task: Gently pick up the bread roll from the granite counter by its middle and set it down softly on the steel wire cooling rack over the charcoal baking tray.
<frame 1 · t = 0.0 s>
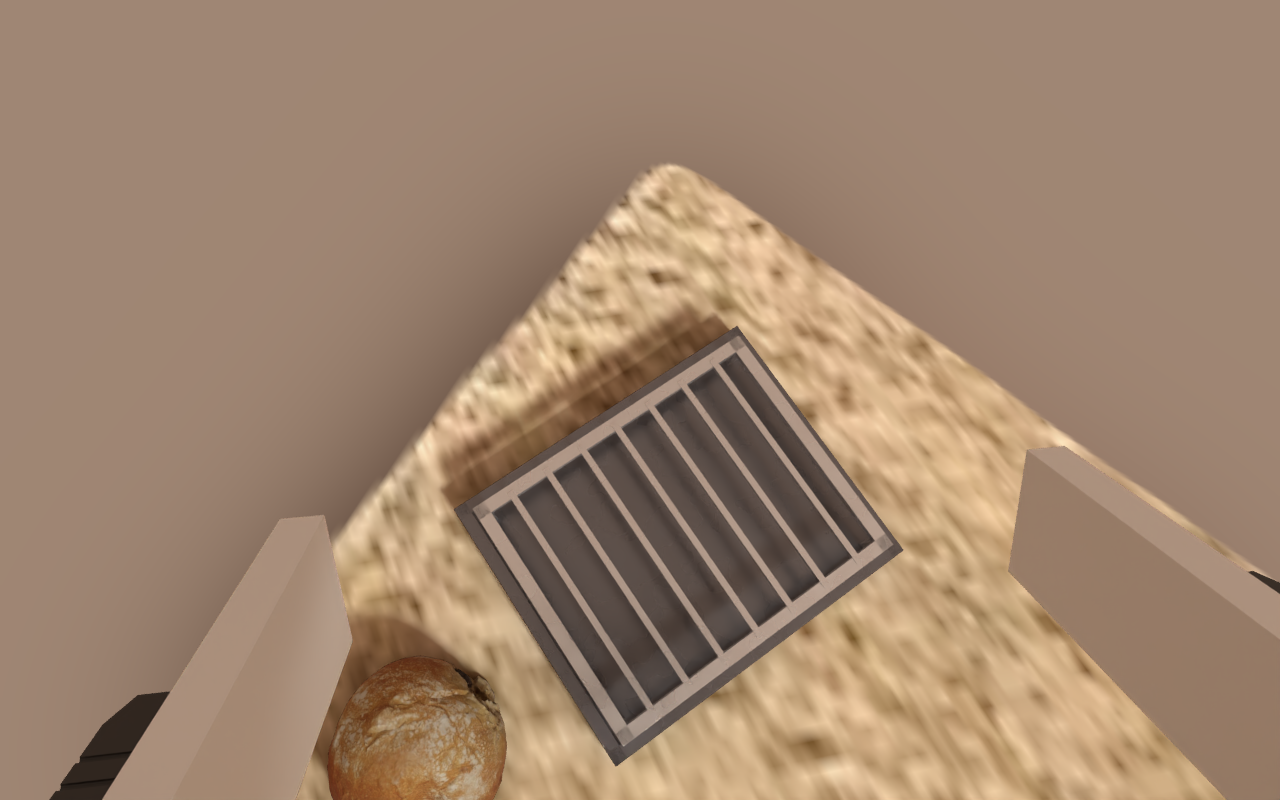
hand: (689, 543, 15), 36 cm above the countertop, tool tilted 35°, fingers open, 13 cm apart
bread roll: (425, 749, 47), on the countertop
cooling rack: (678, 532, 50), on the countertop
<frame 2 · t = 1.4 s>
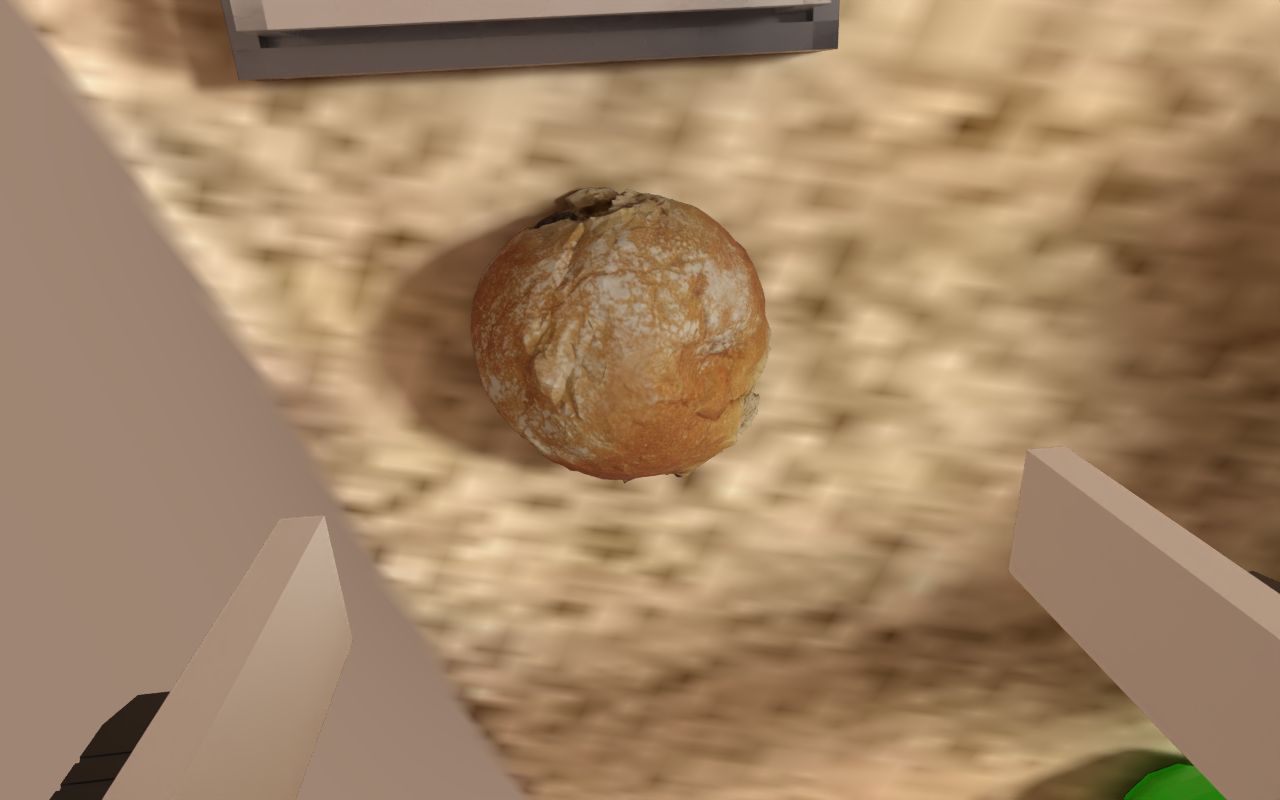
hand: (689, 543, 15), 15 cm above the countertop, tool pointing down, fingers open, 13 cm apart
bread roll: (625, 327, 29), on the countertop
plastic bottle: (1164, 798, 41), on the countertop
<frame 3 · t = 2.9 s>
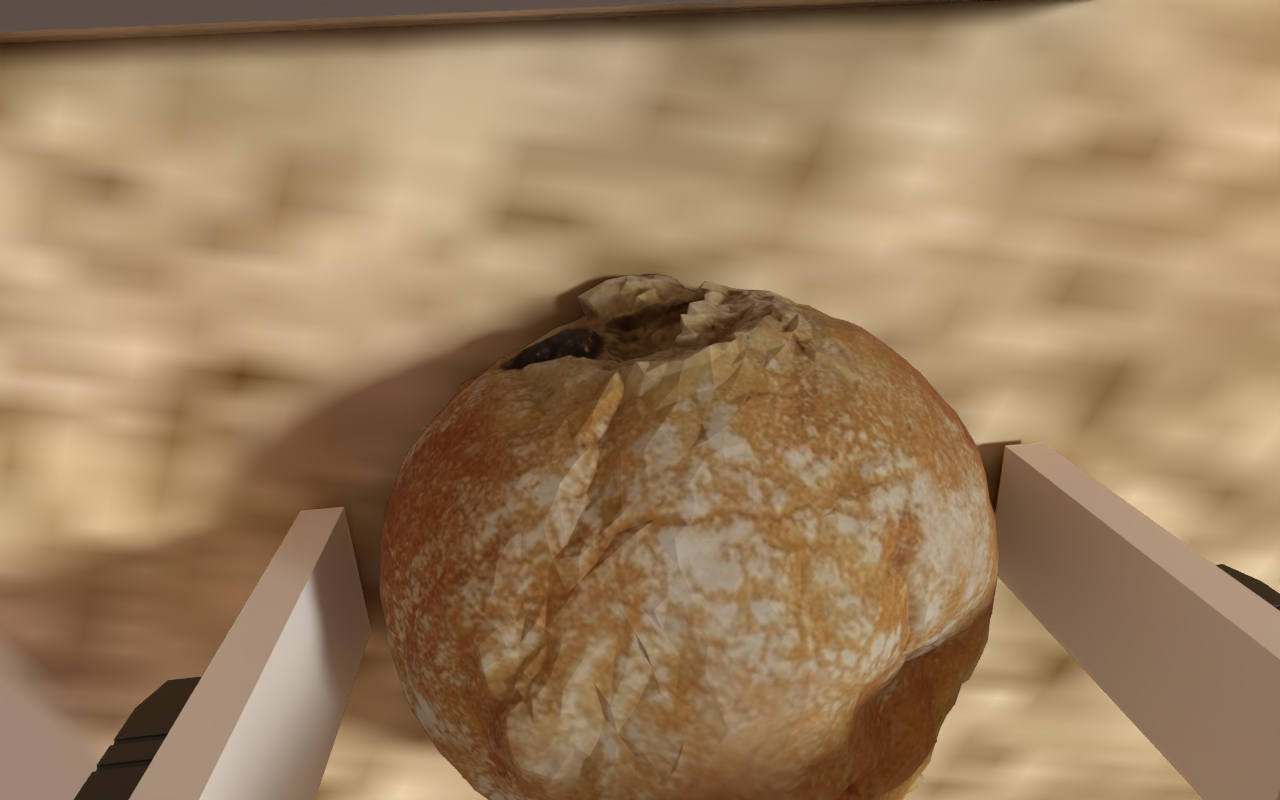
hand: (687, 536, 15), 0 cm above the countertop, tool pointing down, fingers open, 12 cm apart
bread roll: (687, 523, 15), on the countertop
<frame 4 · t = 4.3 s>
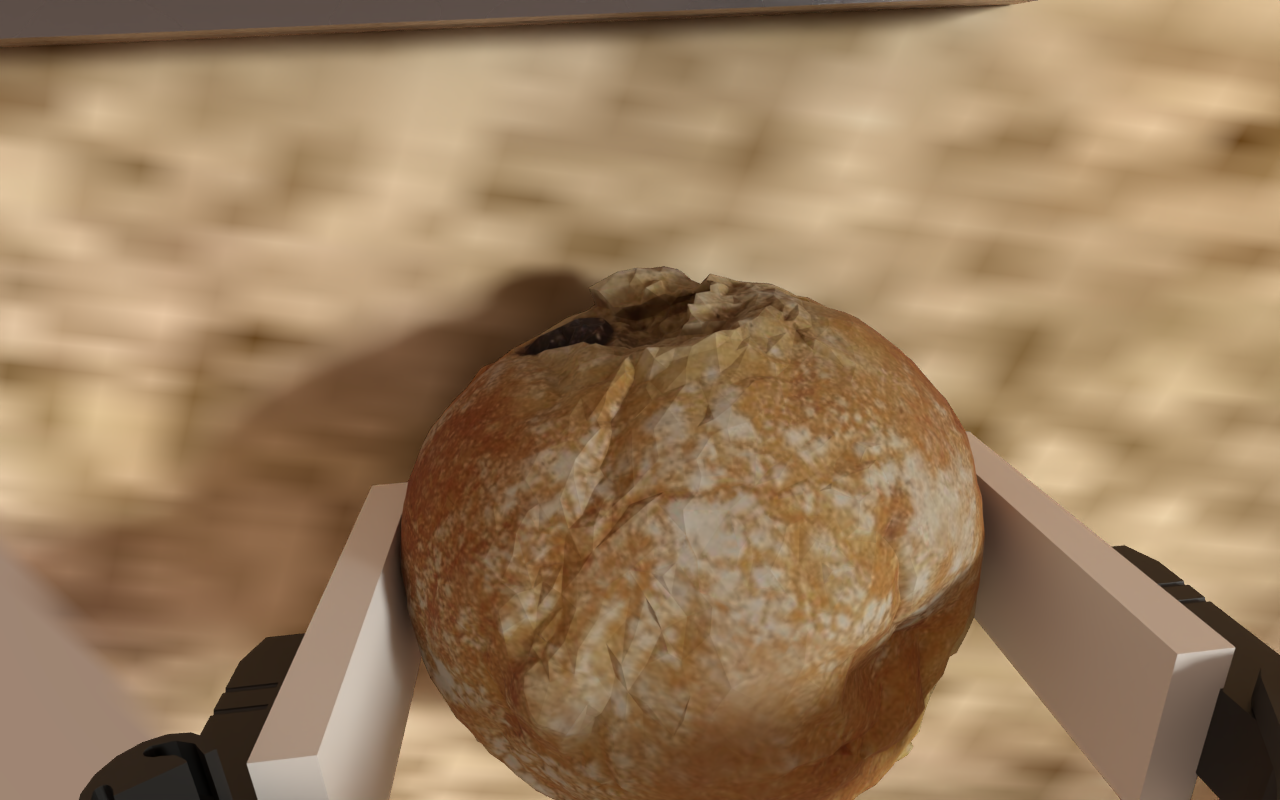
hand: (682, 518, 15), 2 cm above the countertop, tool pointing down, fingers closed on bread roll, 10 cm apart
bread roll: (690, 506, 16), point 1 cm above the countertop, touching gripper
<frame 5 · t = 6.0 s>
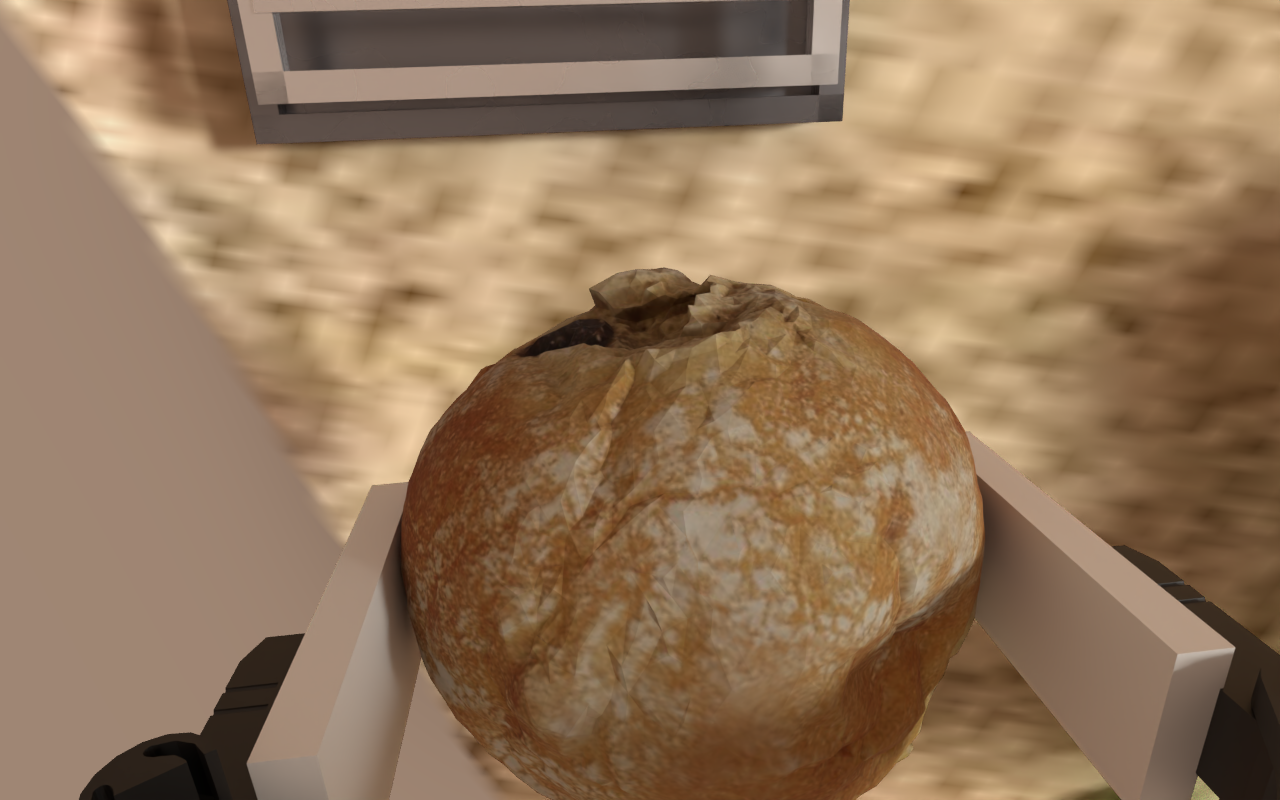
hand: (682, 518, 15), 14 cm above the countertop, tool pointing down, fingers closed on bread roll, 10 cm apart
bread roll: (690, 507, 16), point 13 cm above the countertop, touching gripper
when the fingers open (5 cm above the countertop, at t = 9.4 s): bread roll stays where it is, resting on cooling rack.
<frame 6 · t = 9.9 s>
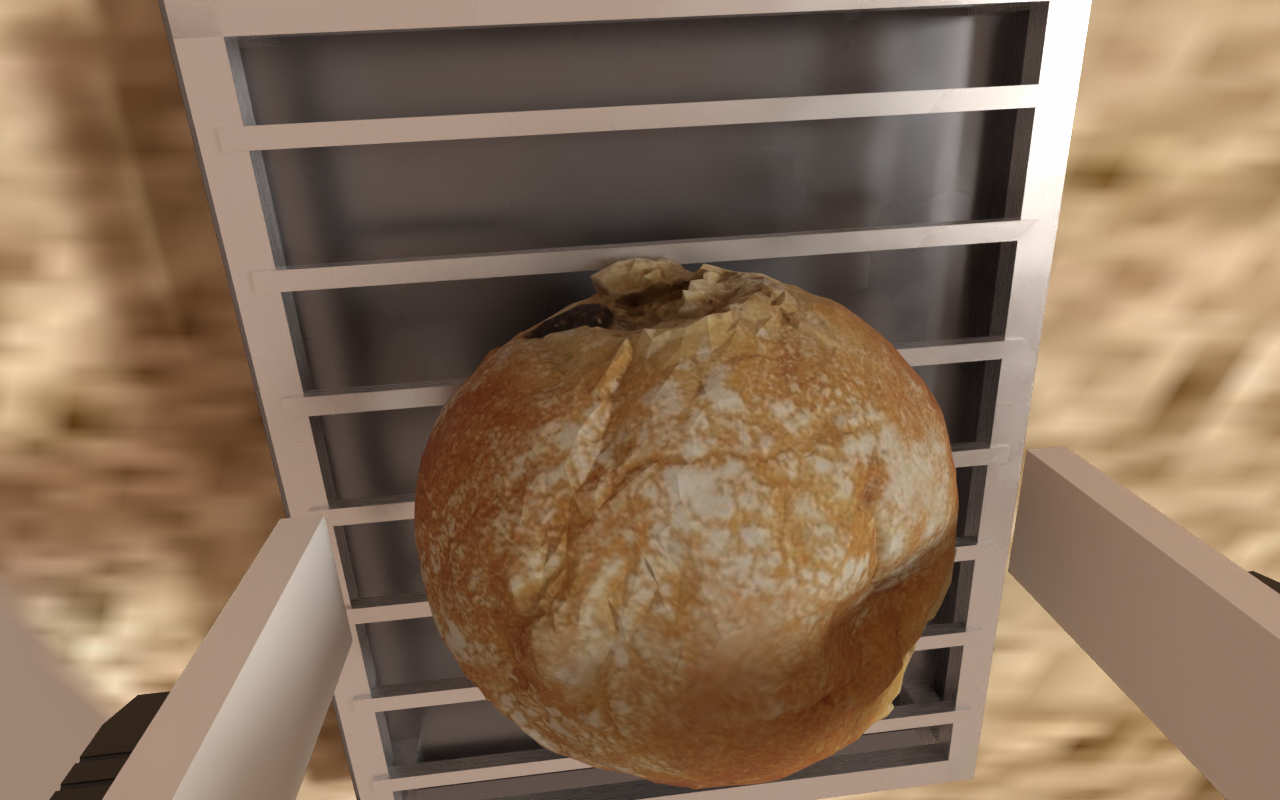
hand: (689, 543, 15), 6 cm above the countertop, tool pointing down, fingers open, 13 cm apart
bread roll: (685, 484, 17), point 4 cm above the countertop, touching cooling rack
cooling rack: (650, 416, 20), on the countertop
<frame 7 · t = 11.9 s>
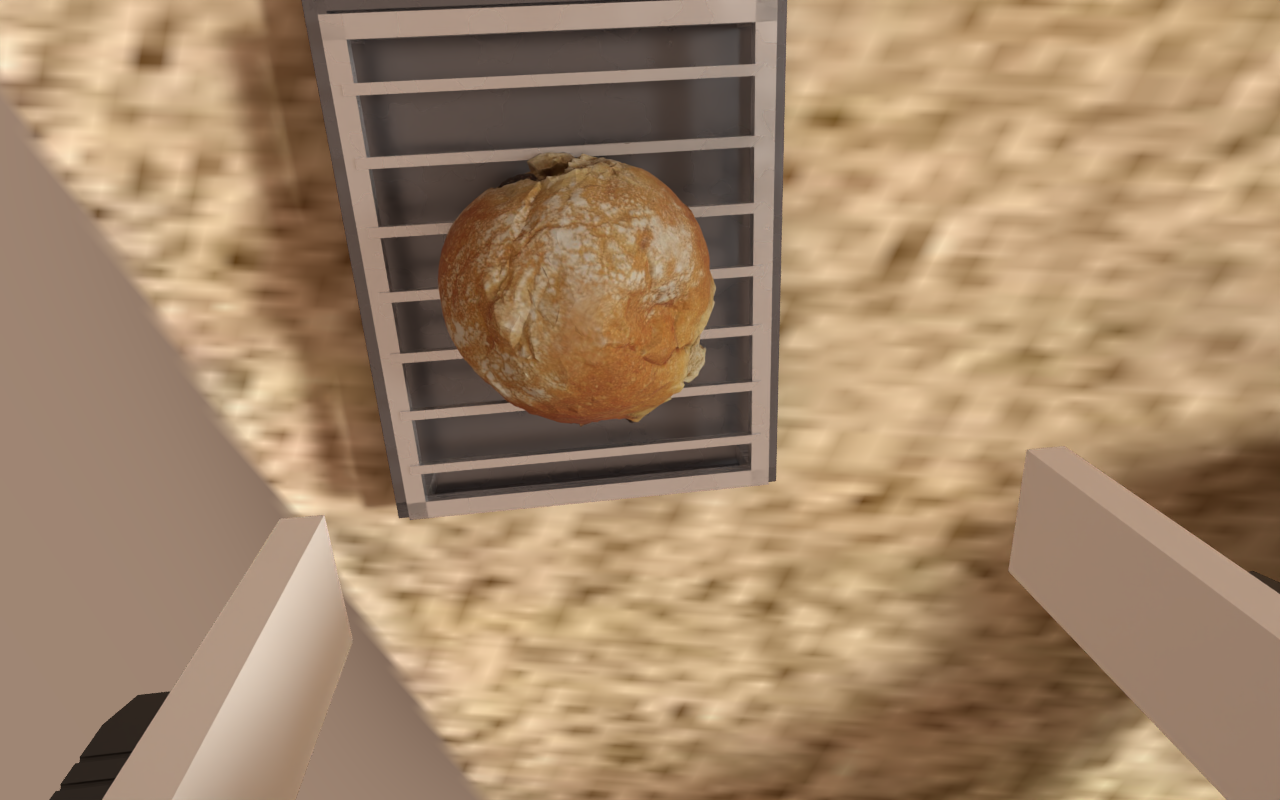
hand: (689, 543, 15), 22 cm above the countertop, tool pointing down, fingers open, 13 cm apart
bread roll: (583, 285, 31), point 4 cm above the countertop, touching cooling rack
cooling rack: (572, 263, 34), on the countertop
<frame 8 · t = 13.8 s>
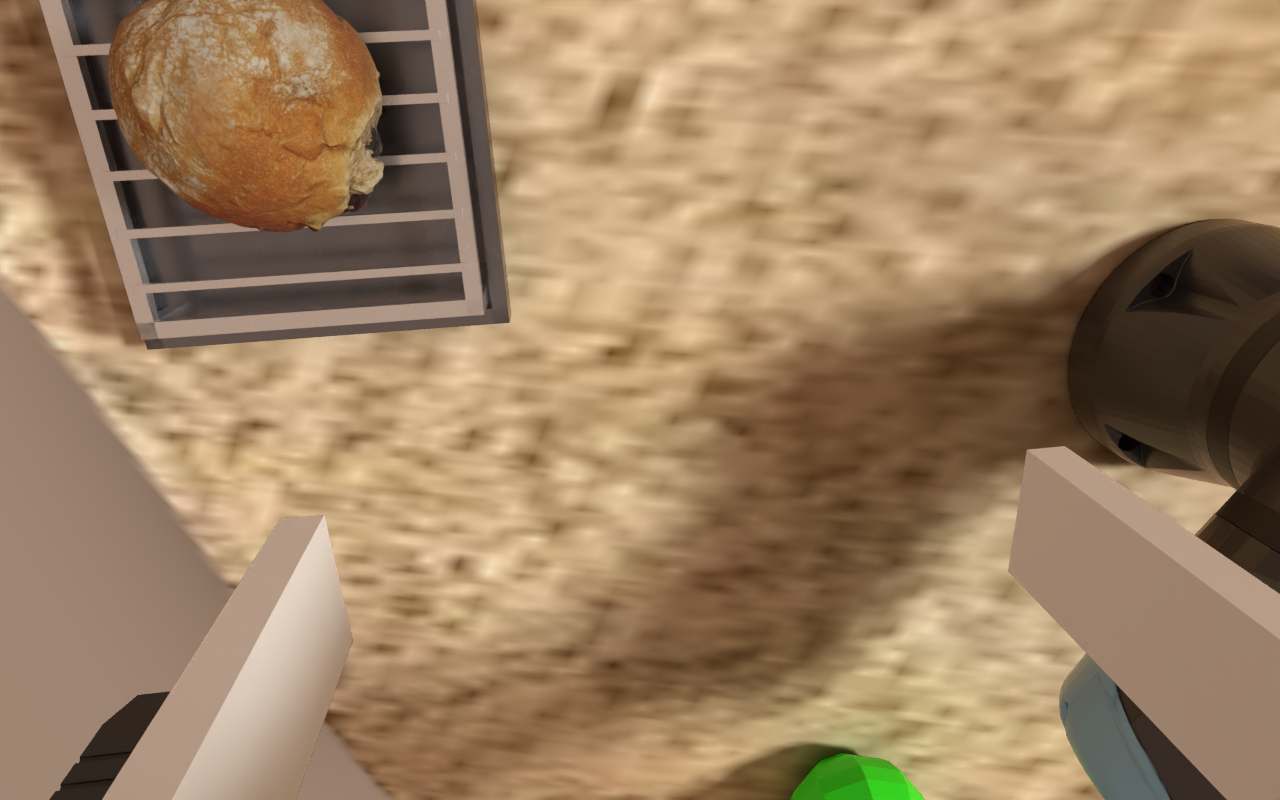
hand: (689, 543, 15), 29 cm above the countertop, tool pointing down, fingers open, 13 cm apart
bread roll: (278, 108, 34), point 4 cm above the countertop, touching cooling rack
plastic bottle: (838, 777, 57), on the countertop
cooling rack: (295, 105, 37), on the countertop
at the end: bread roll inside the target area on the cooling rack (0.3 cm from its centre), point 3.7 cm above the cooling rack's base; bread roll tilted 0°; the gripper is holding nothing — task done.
